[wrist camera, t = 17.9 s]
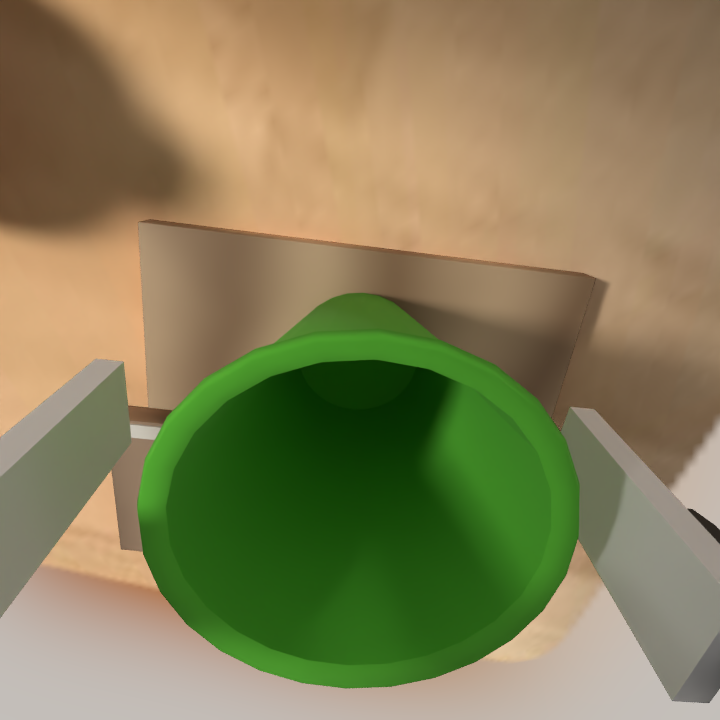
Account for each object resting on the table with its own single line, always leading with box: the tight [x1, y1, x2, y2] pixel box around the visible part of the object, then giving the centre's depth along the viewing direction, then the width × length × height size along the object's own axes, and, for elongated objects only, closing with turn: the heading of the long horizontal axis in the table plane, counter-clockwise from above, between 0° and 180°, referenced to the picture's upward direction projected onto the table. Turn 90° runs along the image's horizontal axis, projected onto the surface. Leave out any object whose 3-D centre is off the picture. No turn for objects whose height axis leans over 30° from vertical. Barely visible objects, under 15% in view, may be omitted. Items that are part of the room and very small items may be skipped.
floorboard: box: [112, 406, 172, 551], centre depth 23 cm, size 22×8×1 cm, turn 83°
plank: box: [138, 219, 596, 419], centre depth 20 cm, size 18×8×1 cm, turn 83°
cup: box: [137, 293, 580, 688], centre depth 14 cm, size 9×9×11 cm
